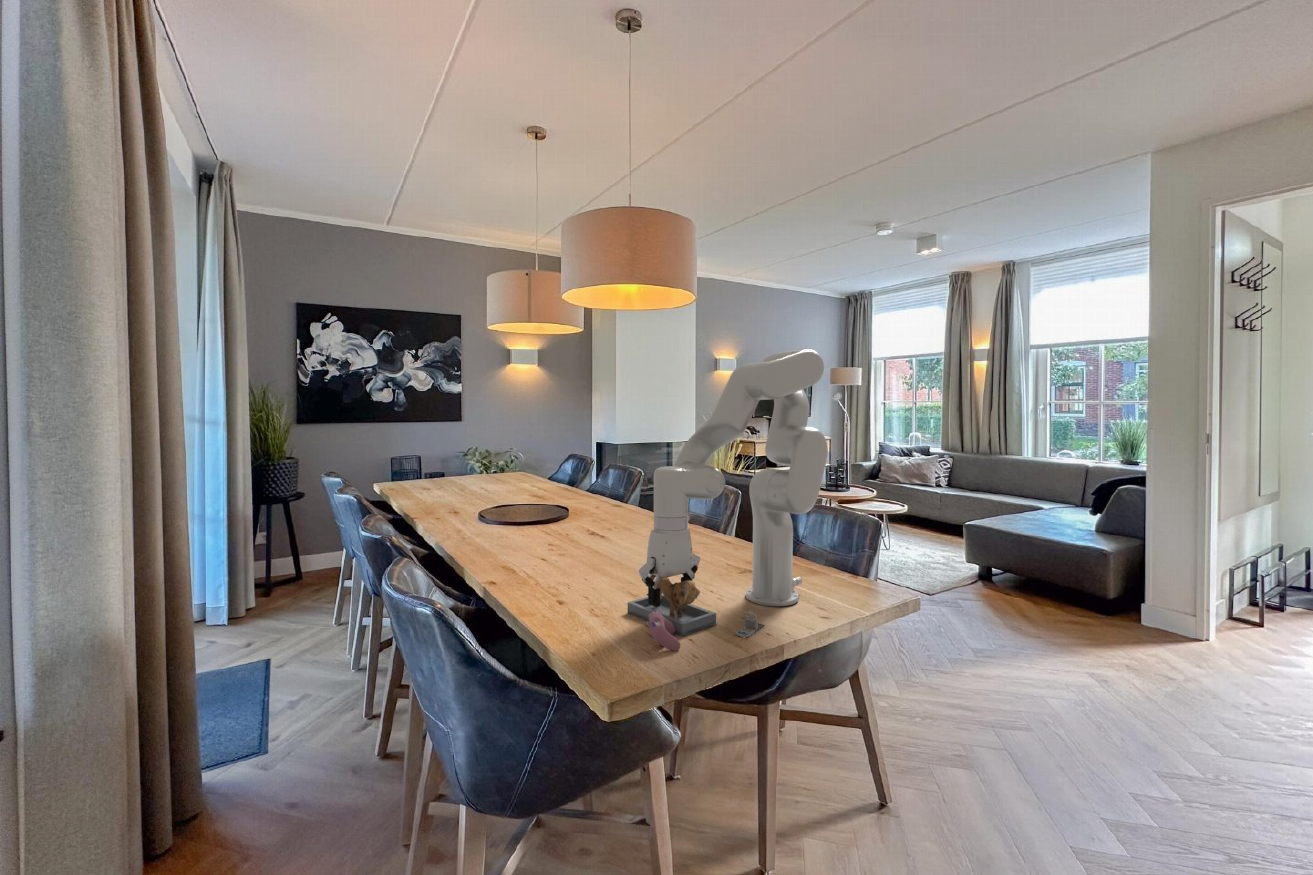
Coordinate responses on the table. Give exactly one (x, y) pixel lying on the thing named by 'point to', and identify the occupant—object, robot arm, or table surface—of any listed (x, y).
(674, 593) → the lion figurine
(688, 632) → the slate tray
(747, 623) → the strap clip
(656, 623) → the pink curved piece
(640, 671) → the table surface
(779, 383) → the robot arm
